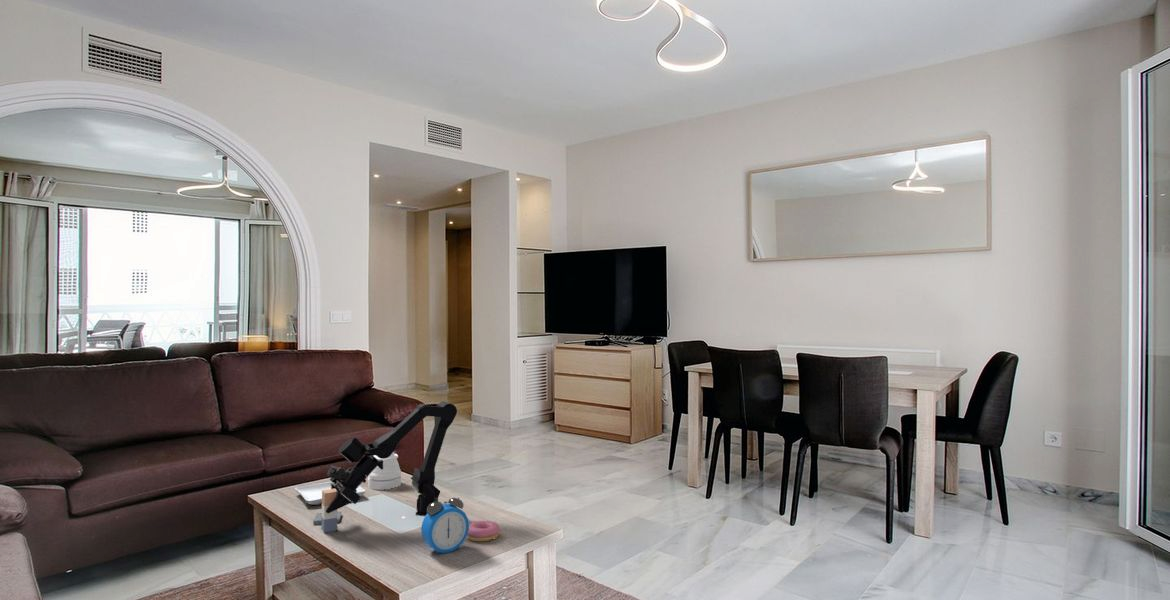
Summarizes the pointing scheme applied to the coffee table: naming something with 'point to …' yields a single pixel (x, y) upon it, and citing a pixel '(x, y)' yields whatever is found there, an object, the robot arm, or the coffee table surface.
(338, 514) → the baseplate
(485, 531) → the doughnut
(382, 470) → the honey pot
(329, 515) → the brick stack
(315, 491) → the salad plate
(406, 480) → the coffee table surface
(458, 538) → the alarm clock
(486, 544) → the coffee table surface
